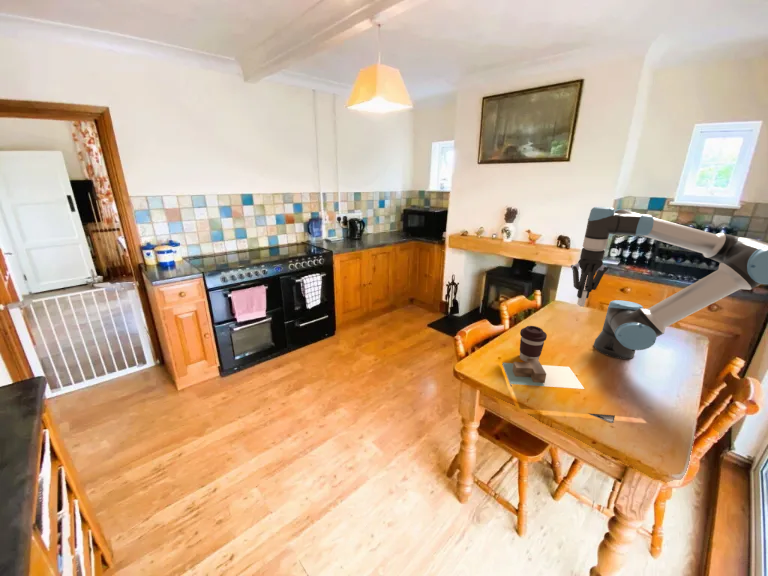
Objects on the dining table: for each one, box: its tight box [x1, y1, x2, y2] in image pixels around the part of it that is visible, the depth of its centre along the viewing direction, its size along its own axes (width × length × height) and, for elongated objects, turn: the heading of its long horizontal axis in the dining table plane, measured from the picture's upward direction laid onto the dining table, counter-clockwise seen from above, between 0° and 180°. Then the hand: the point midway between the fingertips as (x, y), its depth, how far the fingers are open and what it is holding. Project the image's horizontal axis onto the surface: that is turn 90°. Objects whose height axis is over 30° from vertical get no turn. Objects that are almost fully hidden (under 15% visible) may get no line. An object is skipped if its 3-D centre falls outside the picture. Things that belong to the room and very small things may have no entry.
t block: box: [513, 358, 546, 383], centre depth 126 cm, size 10×10×4 cm
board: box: [502, 362, 585, 390], centre depth 126 cm, size 26×14×1 cm, turn 83°
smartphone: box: [588, 413, 616, 424], centre depth 111 cm, size 7×1×15 cm
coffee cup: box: [519, 325, 548, 362], centre depth 135 cm, size 10×10×15 cm
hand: (580, 305), depth 131 cm, fingers closed
